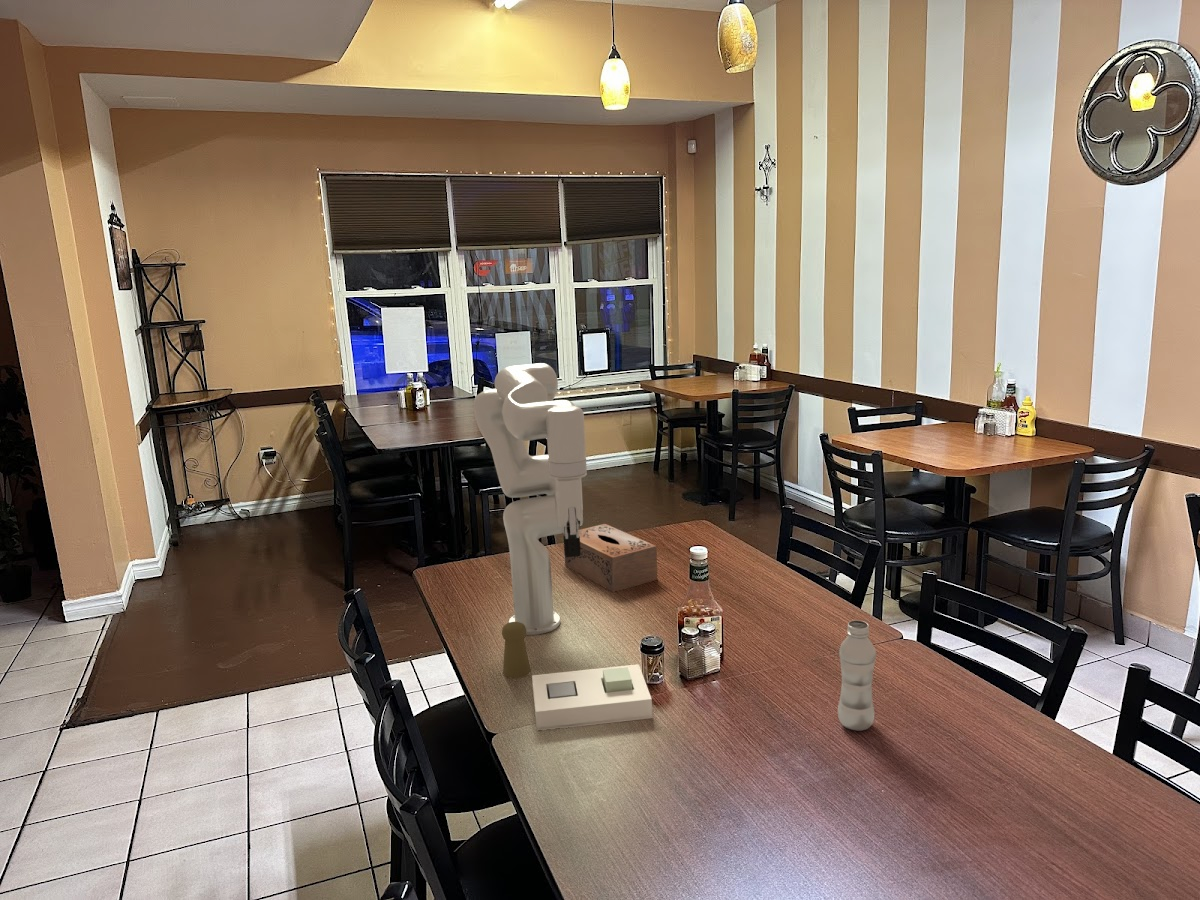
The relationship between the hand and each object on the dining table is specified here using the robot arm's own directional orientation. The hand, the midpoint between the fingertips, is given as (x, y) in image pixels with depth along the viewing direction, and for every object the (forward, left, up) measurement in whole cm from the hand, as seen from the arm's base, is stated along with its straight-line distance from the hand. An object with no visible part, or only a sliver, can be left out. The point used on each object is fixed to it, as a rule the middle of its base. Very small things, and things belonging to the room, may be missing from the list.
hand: (572, 555), depth 163 cm
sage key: (+12, +6, -24) cm, 28 cm away
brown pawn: (-5, -13, -27) cm, 31 cm away
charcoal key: (+12, -5, -26) cm, 29 cm away
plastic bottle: (+29, +48, -27) cm, 62 cm away
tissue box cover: (-58, +15, -28) cm, 66 cm away
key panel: (+12, +1, -27) cm, 30 cm away
